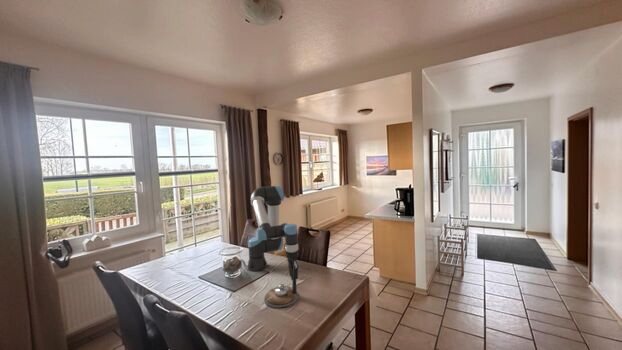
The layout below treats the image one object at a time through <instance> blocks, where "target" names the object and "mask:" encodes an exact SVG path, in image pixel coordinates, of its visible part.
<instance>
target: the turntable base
mask: <svg viewBox="0 0 622 350" xmlns="http://www.w3.org/2000/svg"><path fill="white" fill-rule="evenodd" d="M263 300H264V304H265V305H266V306H267V307H269V308H272V309H283V308H289V307H291V306H293V305H294V304H296V303H297V302H298V300H299V294H298V292H297V296H296V298H295V299H294V300H293V301H292V302H290V303H287V304H283V305H273V304H270V303H268V302H267V300H266V295H265V296H264V298H263Z"/></svg>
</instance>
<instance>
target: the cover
mask: <svg viewBox="0 0 622 350" xmlns="http://www.w3.org/2000/svg"><path fill="white" fill-rule="evenodd" d="M288 287H289V286H288ZM288 287H287V285H286V284H285V285H284V284H282V283H280V284H278V286H277V285H276V287H274V288H275V296H277V297H285V296H287V295H288Z"/></svg>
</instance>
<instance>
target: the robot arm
mask: <svg viewBox="0 0 622 350" xmlns="http://www.w3.org/2000/svg"><path fill="white" fill-rule="evenodd" d="M284 196H285V195H284V191H283V188H282V187H281V186H280V185H269V186H259V187H257V188H255V189H254V190H253V192H252V193H251V195H250V199H249V200H250V205H251V206H252V207H253V212H254V214H255V218H256V223H257V227H258V228H256V235H255V236H253V237H251V238H250V239H248V241H247V242H248V245H247V247H248V262H247V270H248V271H250V272H259V271H262V270H265V269H266V268H267V267H268V262H267V260H266V257H265V254H266V253H272V252H277V251H281V250H282V249H283V248H285V256H286V259H287V264H288V271H289V276H290V281H291V282H290V283H291V285H290V286H292V285H295V284H296V289H297V288H298V287H297V280H298V278H299V277H298V276H299V273H298V272H299V265H298V262H297V258H299V256H300V255H299V240H298V239H299V238H298V237H299V236H298V231H299V230H298V226H297V225H296V223H286V222H282V223H281V224H280V206H281V204H282V201H284ZM265 205H266V206H267V209H266V206H265ZM284 241H285V242H284ZM284 243H285V244H284ZM284 245H285V246H284ZM283 246H284V247H283Z"/></svg>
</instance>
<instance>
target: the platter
mask: <svg viewBox="0 0 622 350" xmlns="http://www.w3.org/2000/svg"><path fill="white" fill-rule="evenodd" d="M296 284H297V283H296ZM296 284H295V285H291V286H287V285H286V286H287V287H288V295H287V296H285V297H277V296H275V288H276V287H273V288H271V289H270V290H268V291H267V292H266V293H265V296H266V300H267V302H268V303H270V304H273V305H283V304H287V303H290V302H292V301H293V300H294V299H295V298H296V296H297V293H298V292H297V289H296Z"/></svg>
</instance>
